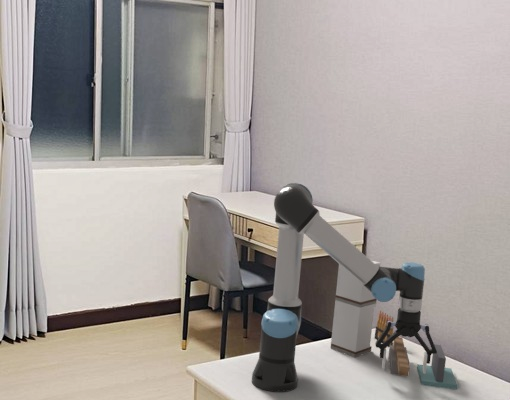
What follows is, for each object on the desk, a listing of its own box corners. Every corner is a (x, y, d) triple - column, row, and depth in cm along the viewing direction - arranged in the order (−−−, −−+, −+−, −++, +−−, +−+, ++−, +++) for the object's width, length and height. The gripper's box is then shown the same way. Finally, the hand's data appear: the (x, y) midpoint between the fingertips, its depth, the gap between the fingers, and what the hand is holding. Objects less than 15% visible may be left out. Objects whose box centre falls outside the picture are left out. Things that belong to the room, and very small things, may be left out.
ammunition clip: (392, 347, 276) (395, 317, 275) (388, 347, 276) (391, 317, 274) (378, 338, 286) (381, 309, 284) (374, 338, 285) (377, 309, 284)
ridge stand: (421, 384, 239) (424, 356, 238) (416, 368, 255) (420, 341, 254) (457, 389, 238) (460, 361, 236) (450, 372, 253) (453, 345, 252)
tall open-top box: (370, 351, 269) (380, 262, 264) (354, 357, 261) (364, 265, 256) (346, 343, 276) (355, 256, 272) (330, 348, 269) (339, 259, 264)
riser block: (390, 373, 247) (392, 360, 247) (388, 358, 263) (389, 345, 262) (407, 375, 246) (409, 362, 246) (404, 360, 262) (405, 347, 262)
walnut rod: (408, 376, 232) (409, 367, 232) (399, 375, 233) (400, 366, 232) (401, 345, 264) (402, 337, 263) (393, 344, 264) (394, 336, 264)
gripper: (372, 308, 232) (366, 369, 235) (449, 316, 229) (442, 378, 232) (371, 302, 240) (366, 361, 243) (446, 310, 237) (439, 370, 239)
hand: (403, 370), depth 237 cm, fingers open, 13 cm apart
